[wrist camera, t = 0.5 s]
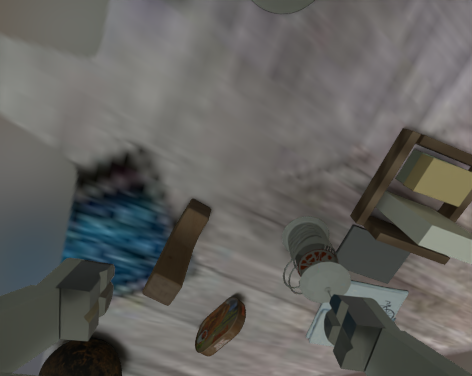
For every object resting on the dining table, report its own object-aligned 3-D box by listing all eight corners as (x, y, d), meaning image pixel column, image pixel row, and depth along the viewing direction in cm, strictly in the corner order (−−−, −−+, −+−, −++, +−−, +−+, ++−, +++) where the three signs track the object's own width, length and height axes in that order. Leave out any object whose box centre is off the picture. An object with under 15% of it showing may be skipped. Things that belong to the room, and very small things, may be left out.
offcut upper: (421, 153, 45) (434, 158, 42) (466, 170, 46) (481, 175, 43) (402, 184, 47) (413, 190, 44) (445, 200, 48) (458, 206, 45)
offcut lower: (412, 148, 47) (423, 152, 45) (454, 165, 48) (467, 170, 46) (394, 177, 50) (403, 183, 47) (434, 193, 50) (446, 199, 48)
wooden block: (192, 197, 52) (168, 250, 35) (212, 208, 52) (197, 265, 35) (172, 230, 54) (140, 294, 38) (190, 240, 55) (168, 307, 38)
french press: (338, 239, 54) (411, 353, 31) (293, 269, 57) (329, 393, 34) (311, 207, 52) (368, 304, 28) (265, 239, 55) (282, 352, 31)
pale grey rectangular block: (382, 189, 50) (432, 225, 37) (431, 208, 51) (496, 249, 38) (373, 204, 51) (418, 244, 38) (421, 222, 52) (480, 267, 39)
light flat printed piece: (304, 335, 65) (306, 343, 63) (332, 271, 58) (336, 278, 56) (375, 349, 66) (380, 357, 64) (412, 288, 59) (418, 295, 57)
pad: (353, 224, 53) (354, 225, 52) (412, 246, 54) (414, 247, 54) (329, 262, 56) (330, 264, 56) (386, 281, 58) (387, 283, 57)
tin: (237, 289, 60) (237, 320, 52) (248, 297, 60) (248, 328, 52) (196, 325, 64) (190, 358, 56) (206, 331, 64) (201, 365, 57)
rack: (402, 128, 46) (434, 136, 38) (483, 161, 48) (528, 175, 40) (350, 215, 52) (368, 237, 45) (422, 242, 54) (451, 267, 46)
